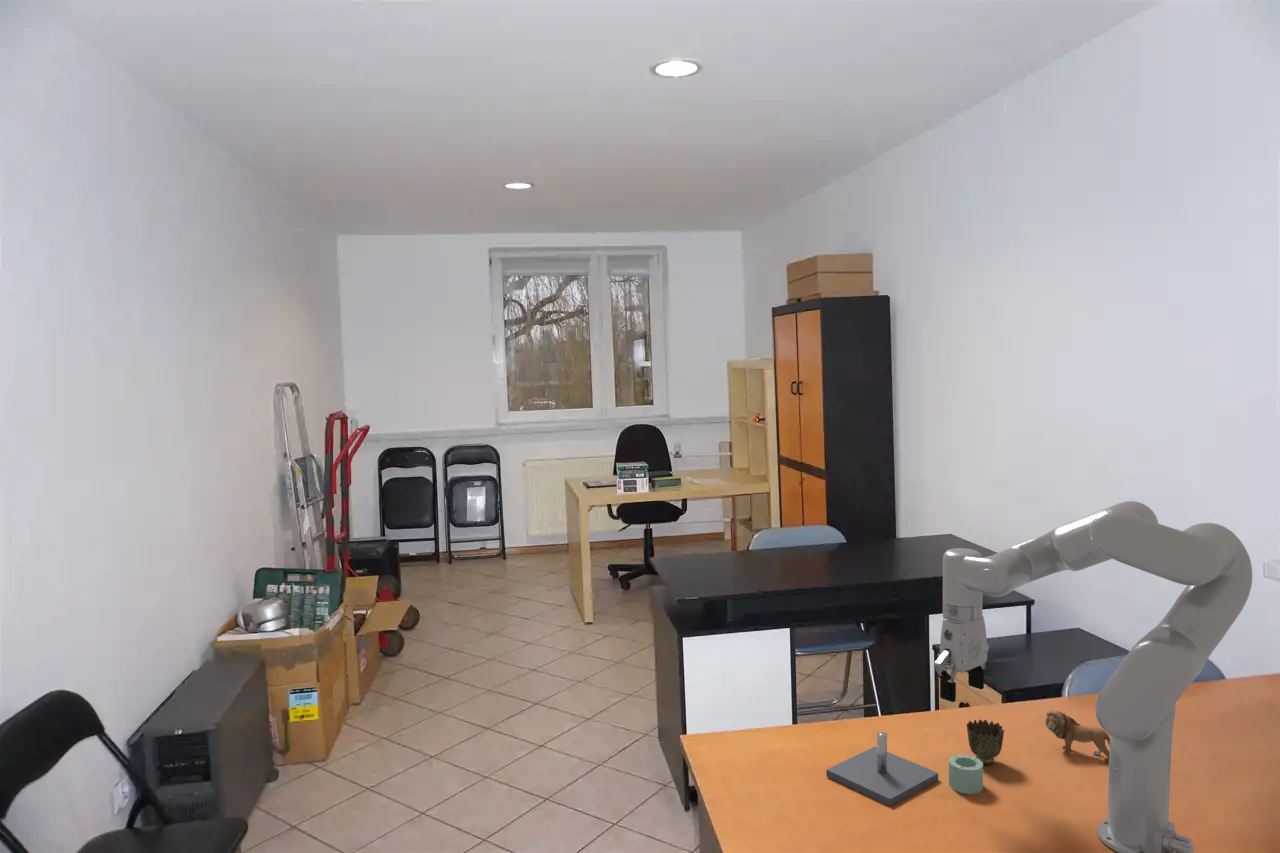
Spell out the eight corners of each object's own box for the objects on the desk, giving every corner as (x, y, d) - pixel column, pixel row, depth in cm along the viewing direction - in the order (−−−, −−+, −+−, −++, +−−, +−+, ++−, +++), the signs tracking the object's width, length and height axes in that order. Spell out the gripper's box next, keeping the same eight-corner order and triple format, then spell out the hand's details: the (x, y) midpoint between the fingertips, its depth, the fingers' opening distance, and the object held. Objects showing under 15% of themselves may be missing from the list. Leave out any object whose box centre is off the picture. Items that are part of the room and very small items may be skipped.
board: (938, 779, 185) (938, 773, 185) (890, 806, 175) (890, 799, 175) (874, 753, 198) (874, 746, 198) (826, 776, 188) (826, 769, 188)
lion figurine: (1044, 754, 195) (1045, 714, 194) (1045, 743, 200) (1046, 704, 199) (1121, 766, 189) (1122, 725, 188) (1120, 755, 193) (1121, 715, 192)
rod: (889, 771, 186) (888, 734, 185) (882, 774, 185) (882, 737, 184) (881, 767, 188) (880, 731, 187) (875, 771, 187) (874, 733, 186)
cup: (1006, 771, 188) (1007, 735, 187) (969, 769, 189) (969, 732, 188) (1000, 755, 195) (1000, 719, 194) (964, 753, 196) (964, 718, 196)
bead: (988, 786, 182) (989, 763, 181) (971, 797, 178) (971, 773, 177) (960, 775, 187) (960, 752, 186) (942, 785, 183) (942, 761, 182)
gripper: (953, 624, 172) (953, 710, 174) (1003, 606, 182) (1003, 687, 184) (920, 615, 178) (920, 699, 180) (970, 598, 188) (970, 677, 190)
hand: (962, 693), depth 182 cm, fingers open, 9 cm apart
